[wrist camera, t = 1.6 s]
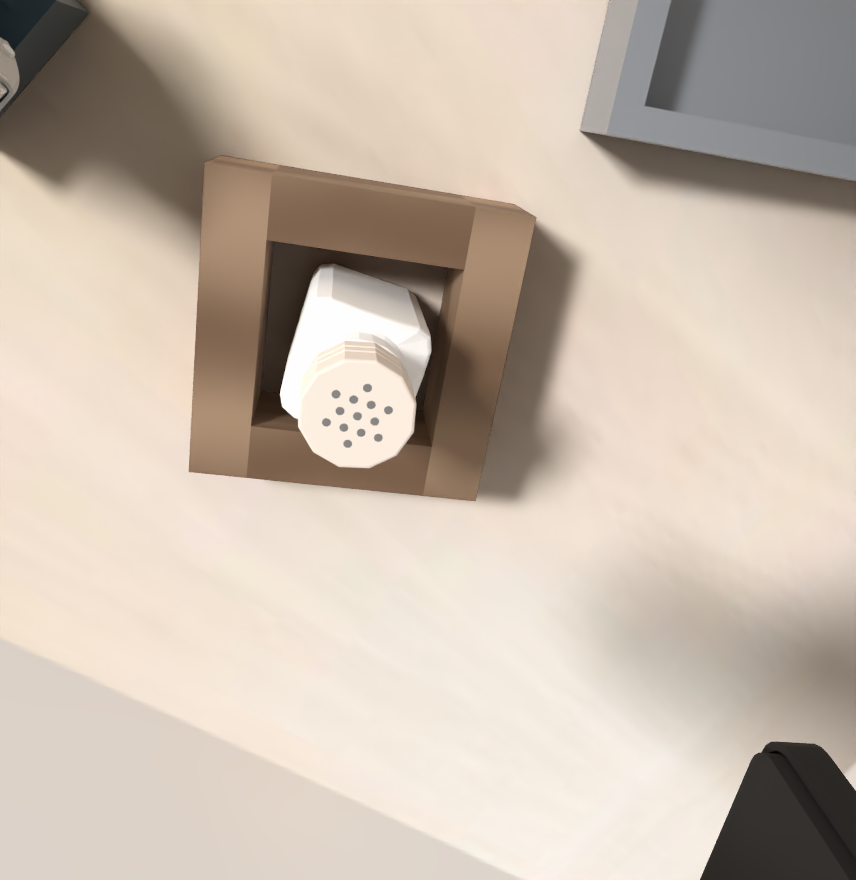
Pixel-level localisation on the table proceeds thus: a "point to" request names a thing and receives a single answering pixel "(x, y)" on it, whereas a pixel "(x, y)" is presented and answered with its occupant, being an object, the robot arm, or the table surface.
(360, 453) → the salt shaker
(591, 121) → the tray
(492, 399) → the shaker holder
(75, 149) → the table surface
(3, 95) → the watch
